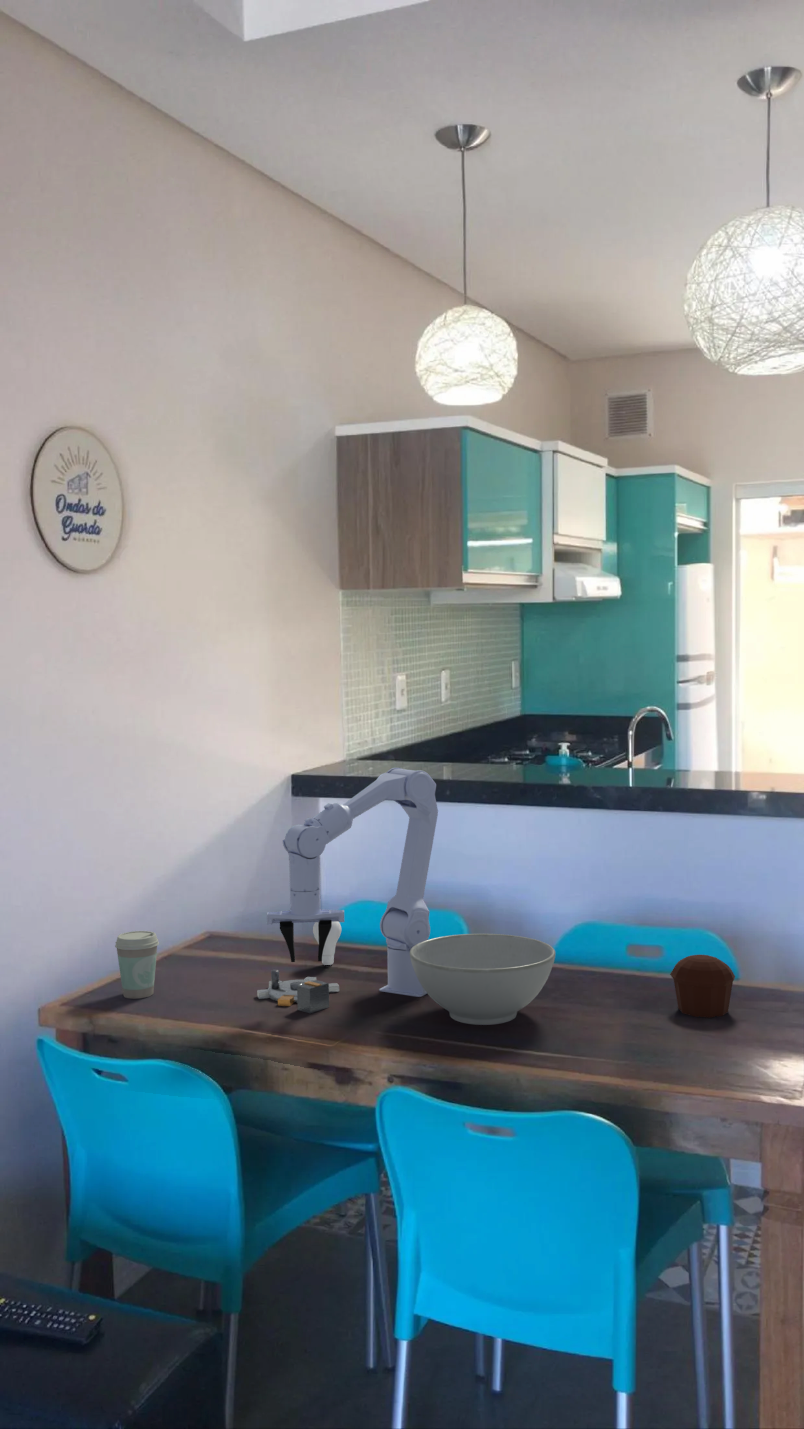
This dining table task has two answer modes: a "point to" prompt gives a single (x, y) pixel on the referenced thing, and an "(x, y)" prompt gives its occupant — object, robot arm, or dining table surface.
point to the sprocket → (286, 989)
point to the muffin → (703, 986)
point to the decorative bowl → (482, 974)
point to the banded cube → (313, 996)
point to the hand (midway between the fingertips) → (306, 960)
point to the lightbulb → (328, 942)
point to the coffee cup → (137, 962)
